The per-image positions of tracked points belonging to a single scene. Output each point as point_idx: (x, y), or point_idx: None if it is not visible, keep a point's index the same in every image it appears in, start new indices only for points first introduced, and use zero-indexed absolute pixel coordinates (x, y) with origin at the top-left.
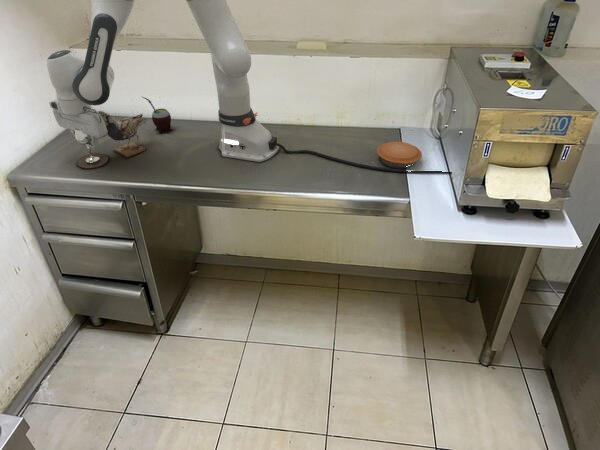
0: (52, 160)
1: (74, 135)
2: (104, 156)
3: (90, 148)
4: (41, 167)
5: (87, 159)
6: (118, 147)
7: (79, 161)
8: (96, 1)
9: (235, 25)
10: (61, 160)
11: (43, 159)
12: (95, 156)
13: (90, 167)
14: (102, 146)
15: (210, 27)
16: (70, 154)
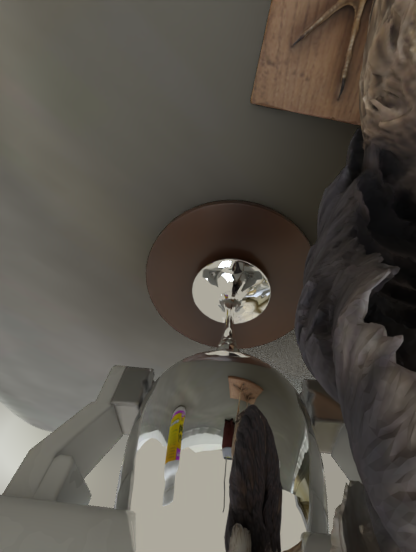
0: (46, 341)
1: (100, 452)
2: (253, 219)
3: (236, 343)
4: (75, 386)
5: (211, 311)
6: (262, 45)
7: (170, 317)
8: None
9: None
10: (76, 328)
11: (8, 348)
12: (222, 267)
13: (274, 337)
14: (86, 83)
15: None
16: (44, 273)
